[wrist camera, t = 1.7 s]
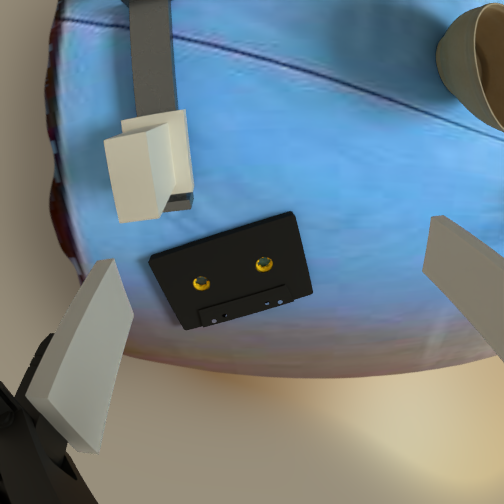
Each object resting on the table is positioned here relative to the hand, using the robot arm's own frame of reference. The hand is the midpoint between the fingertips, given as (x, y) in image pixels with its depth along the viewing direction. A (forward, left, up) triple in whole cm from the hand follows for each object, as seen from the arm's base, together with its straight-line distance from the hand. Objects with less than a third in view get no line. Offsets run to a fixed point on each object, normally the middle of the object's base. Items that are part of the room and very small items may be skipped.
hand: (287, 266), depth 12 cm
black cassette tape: (+14, -2, -24) cm, 28 cm away
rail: (-8, -8, -23) cm, 26 cm away
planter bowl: (-13, +30, -23) cm, 40 cm away
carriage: (-2, -8, -21) cm, 22 cm away
